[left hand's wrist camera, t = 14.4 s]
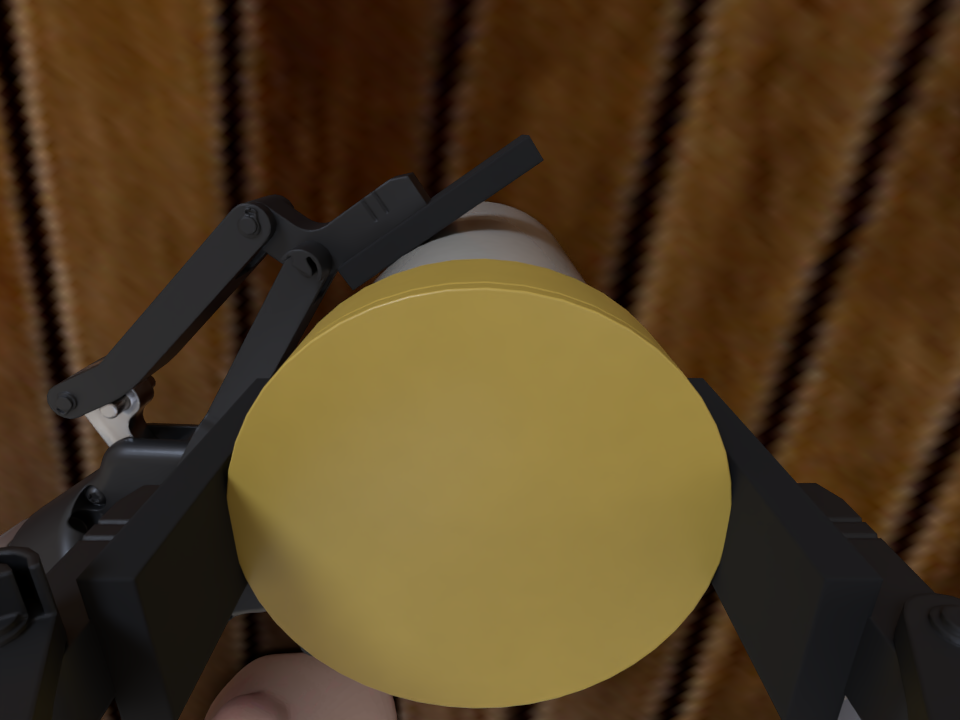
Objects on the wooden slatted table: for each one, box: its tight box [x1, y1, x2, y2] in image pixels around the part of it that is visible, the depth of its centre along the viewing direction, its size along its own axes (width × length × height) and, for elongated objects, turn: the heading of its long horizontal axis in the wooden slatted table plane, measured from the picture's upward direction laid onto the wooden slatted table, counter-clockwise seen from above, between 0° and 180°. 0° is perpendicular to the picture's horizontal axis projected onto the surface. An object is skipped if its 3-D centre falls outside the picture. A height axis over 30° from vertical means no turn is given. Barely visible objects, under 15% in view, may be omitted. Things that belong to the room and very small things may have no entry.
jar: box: [373, 202, 586, 284], centre depth 18 cm, size 8×8×15 cm
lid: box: [227, 259, 732, 708], centre depth 11 cm, size 9×9×2 cm
